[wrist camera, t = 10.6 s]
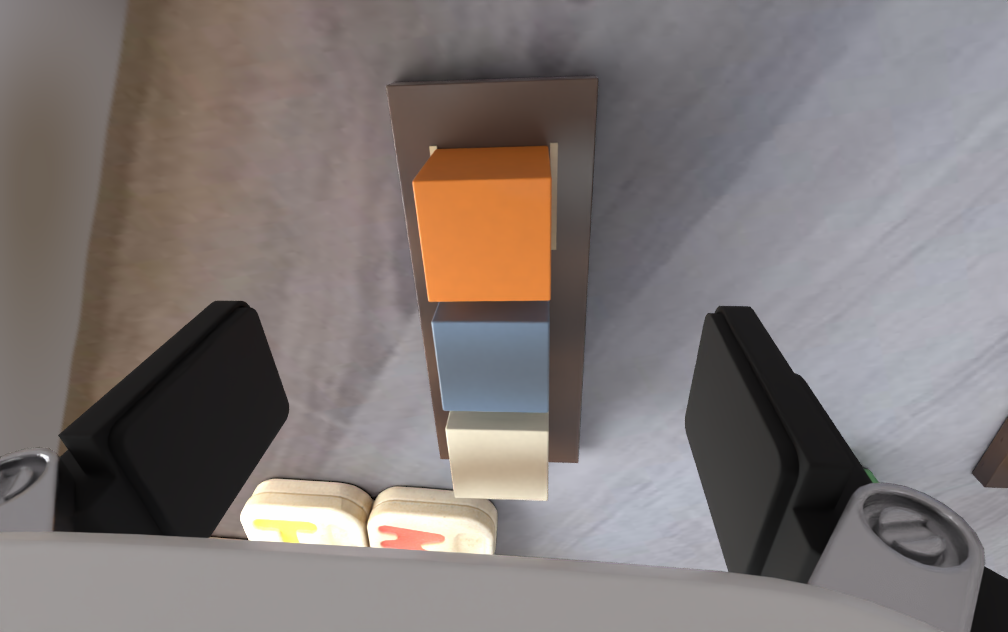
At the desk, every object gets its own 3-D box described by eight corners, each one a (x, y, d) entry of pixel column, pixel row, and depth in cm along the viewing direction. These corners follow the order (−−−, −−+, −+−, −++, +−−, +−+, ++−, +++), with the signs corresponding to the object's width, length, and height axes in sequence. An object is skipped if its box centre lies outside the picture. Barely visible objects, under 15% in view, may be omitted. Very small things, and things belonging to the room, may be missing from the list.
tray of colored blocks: (392, 82, 20) (344, 104, 15) (596, 75, 19) (612, 94, 14) (443, 446, 30) (424, 526, 25) (577, 450, 29) (583, 533, 25)
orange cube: (435, 148, 20) (411, 180, 16) (548, 145, 20) (551, 177, 16) (446, 252, 22) (428, 302, 18) (547, 250, 22) (550, 301, 18)
